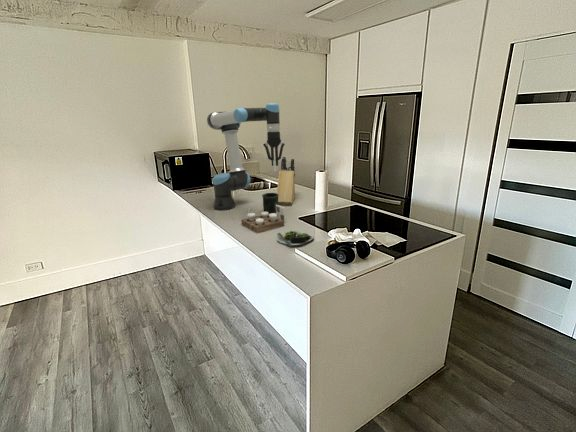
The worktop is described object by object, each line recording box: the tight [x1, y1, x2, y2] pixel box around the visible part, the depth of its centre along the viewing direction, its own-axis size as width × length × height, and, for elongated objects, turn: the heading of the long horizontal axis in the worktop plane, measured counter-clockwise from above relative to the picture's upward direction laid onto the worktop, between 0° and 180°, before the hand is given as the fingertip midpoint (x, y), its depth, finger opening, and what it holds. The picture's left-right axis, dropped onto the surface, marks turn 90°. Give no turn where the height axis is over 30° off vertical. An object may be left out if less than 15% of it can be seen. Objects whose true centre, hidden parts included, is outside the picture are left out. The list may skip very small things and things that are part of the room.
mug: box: [261, 192, 280, 214], centre depth 206 cm, size 11×15×12 cm
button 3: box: [260, 211, 268, 219], centre depth 188 cm, size 4×4×5 cm
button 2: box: [256, 218, 264, 226], centre depth 176 cm, size 4×4×5 cm
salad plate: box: [276, 230, 314, 248], centre depth 160 cm, size 19×18×5 cm
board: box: [241, 214, 285, 234], centre depth 183 cm, size 18×18×3 cm
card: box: [276, 205, 287, 223], centre depth 190 cm, size 9×4×9 cm, turn 36°
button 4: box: [269, 213, 277, 222], centre depth 181 cm, size 4×4×5 cm
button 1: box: [247, 212, 256, 222], centre depth 183 cm, size 4×4×5 cm
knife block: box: [276, 156, 296, 206], centre depth 231 cm, size 11×35×31 cm, turn 173°
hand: (275, 171), depth 191 cm, fingers closed
